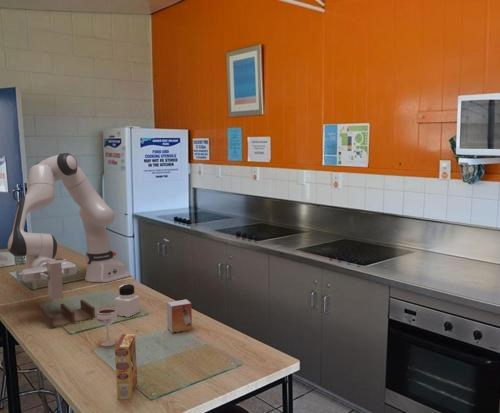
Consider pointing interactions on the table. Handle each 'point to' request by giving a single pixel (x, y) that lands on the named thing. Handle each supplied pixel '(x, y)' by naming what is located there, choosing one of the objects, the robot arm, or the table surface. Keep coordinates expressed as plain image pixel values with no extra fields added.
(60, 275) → the tall gray rectangular block
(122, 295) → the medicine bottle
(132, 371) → the candy box
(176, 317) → the small box
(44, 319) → the rack
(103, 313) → the wineglass
